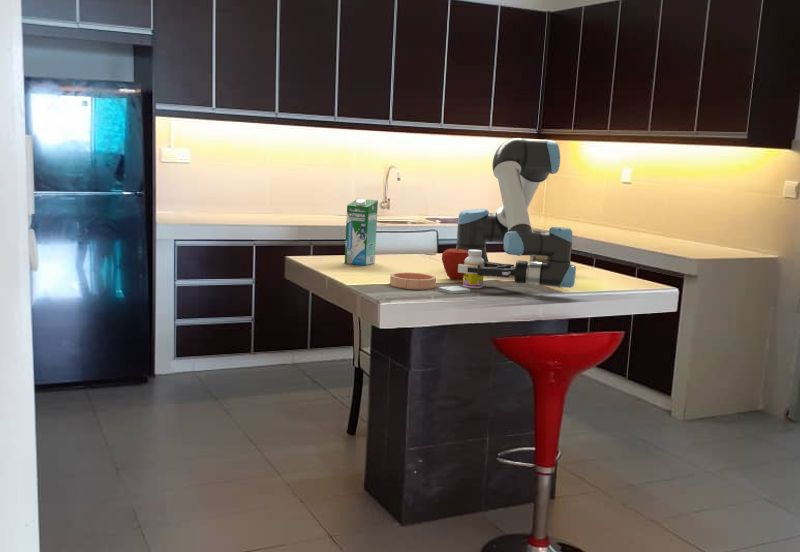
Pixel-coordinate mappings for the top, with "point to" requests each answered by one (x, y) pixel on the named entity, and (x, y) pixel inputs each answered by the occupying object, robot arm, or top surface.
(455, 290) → the light grey flat block
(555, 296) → the top surface
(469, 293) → the mat
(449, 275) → the apple
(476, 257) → the supplement bottle
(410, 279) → the bowl
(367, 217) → the milk carton
